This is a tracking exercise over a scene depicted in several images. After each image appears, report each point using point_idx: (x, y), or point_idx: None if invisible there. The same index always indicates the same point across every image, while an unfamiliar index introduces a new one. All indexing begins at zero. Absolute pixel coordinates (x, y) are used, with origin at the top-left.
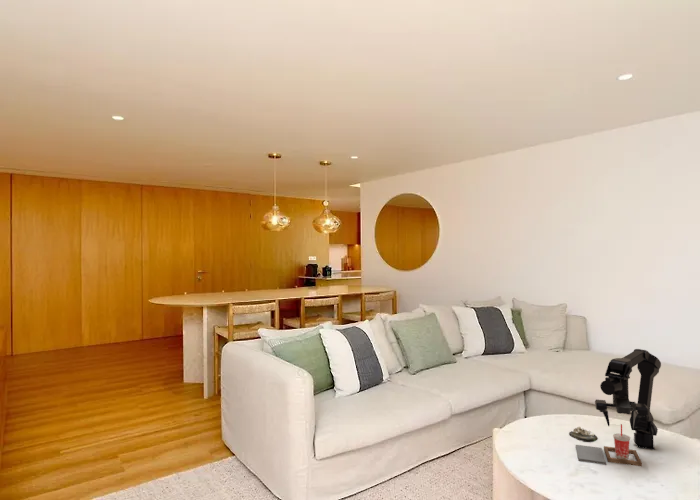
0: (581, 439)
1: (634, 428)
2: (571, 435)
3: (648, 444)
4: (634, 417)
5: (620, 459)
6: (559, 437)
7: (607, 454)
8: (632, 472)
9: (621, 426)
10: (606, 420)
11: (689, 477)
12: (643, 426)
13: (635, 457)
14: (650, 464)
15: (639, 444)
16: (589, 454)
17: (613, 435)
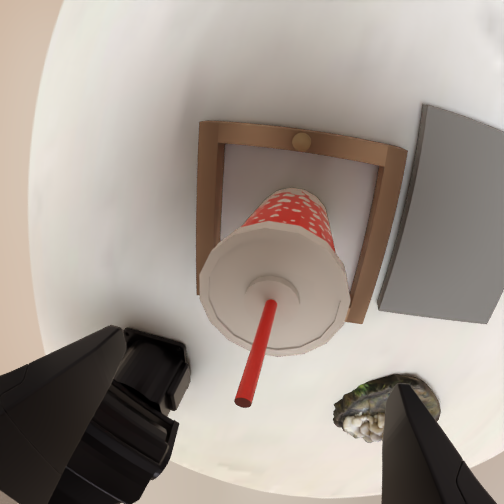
0: (421, 383)
1: (110, 329)
2: (439, 406)
3: (136, 347)
4: (38, 438)
5: (327, 142)
6: (488, 384)
7: (389, 210)
8: (287, 26)
9: (249, 377)
10: (449, 441)
11: (49, 86)
12: (104, 408)
13: (217, 215)
14: (158, 166)
15: (172, 358)
16: (484, 209)
17: (346, 312)
